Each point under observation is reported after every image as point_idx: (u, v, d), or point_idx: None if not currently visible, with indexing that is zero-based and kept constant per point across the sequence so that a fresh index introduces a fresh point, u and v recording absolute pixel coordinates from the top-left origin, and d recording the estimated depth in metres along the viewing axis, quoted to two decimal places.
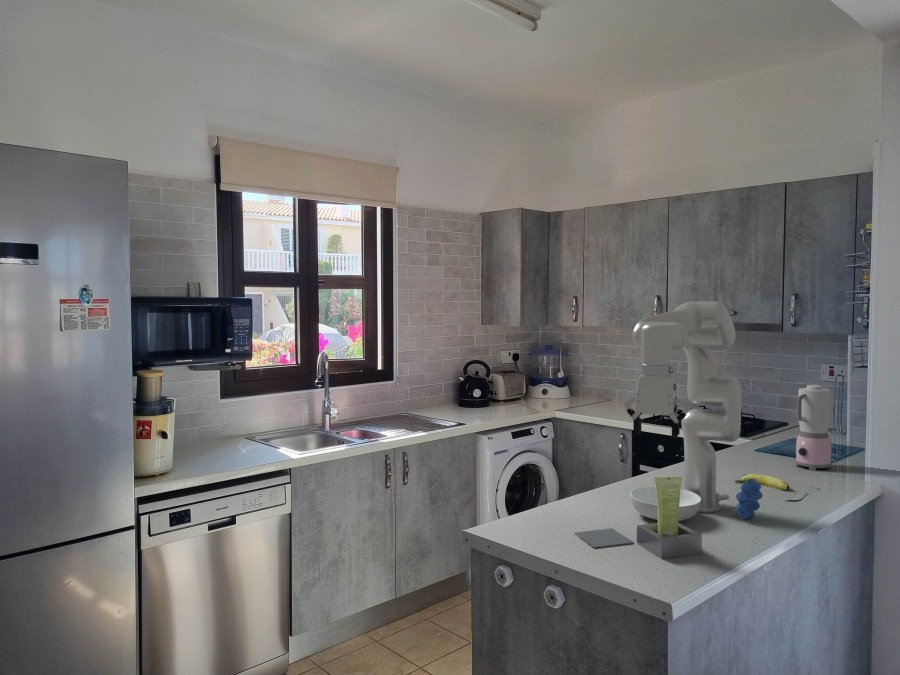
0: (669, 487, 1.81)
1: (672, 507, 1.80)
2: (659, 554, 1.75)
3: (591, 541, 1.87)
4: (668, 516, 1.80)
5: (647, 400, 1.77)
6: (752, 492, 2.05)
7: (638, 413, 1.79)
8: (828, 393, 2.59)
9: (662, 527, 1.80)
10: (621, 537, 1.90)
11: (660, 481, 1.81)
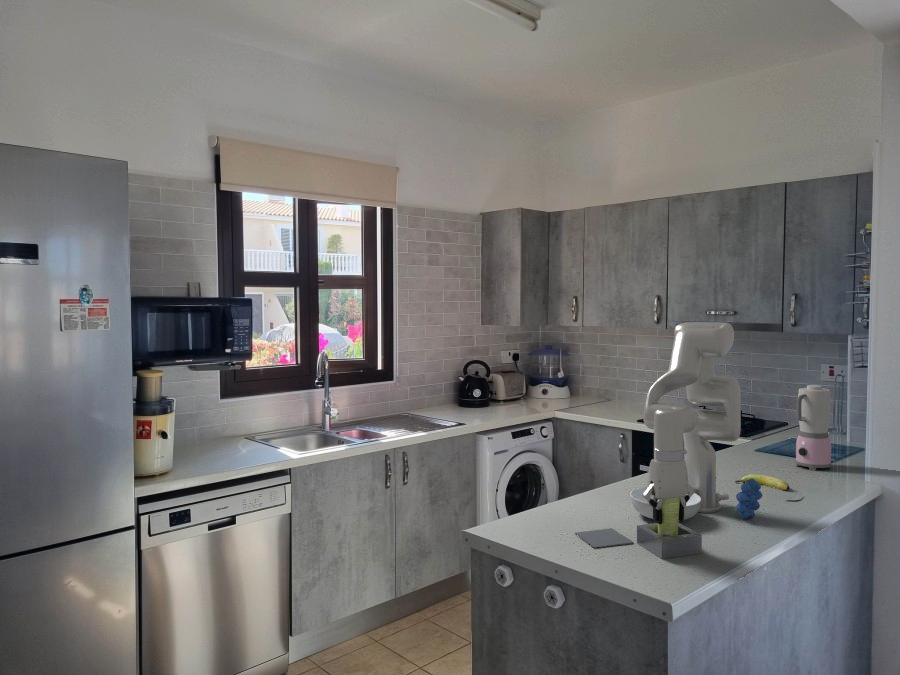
0: None
1: (672, 507, 1.80)
2: (659, 554, 1.75)
3: (591, 541, 1.87)
4: (668, 516, 1.80)
5: (668, 485, 1.78)
6: (752, 492, 2.05)
7: (661, 501, 1.79)
8: (828, 393, 2.59)
9: (662, 527, 1.80)
10: (621, 537, 1.90)
11: None
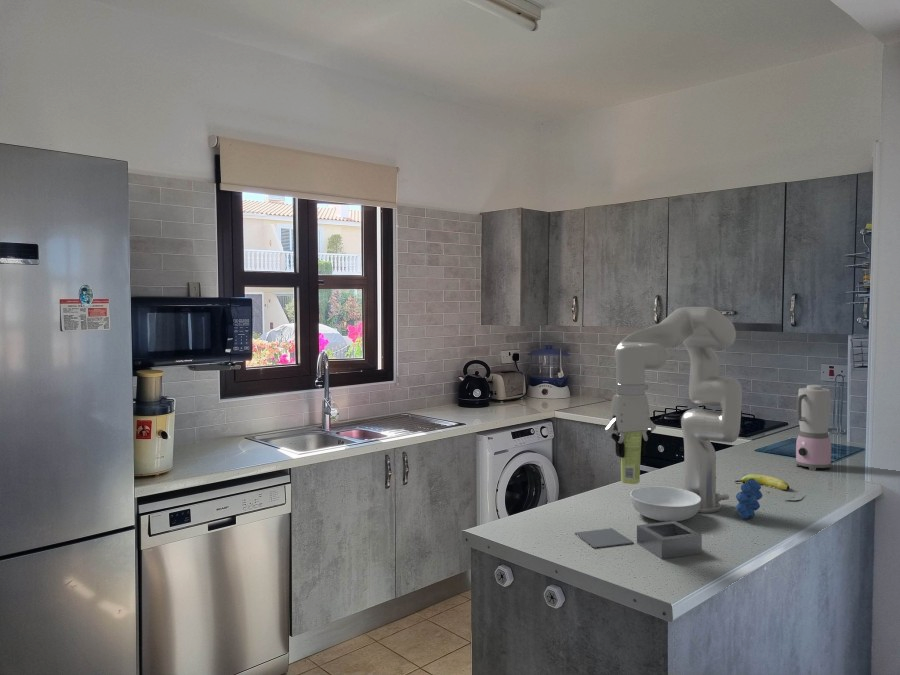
0: None
1: (634, 441, 1.83)
2: (659, 554, 1.75)
3: (591, 541, 1.87)
4: (630, 449, 1.83)
5: (630, 419, 1.82)
6: (752, 492, 2.05)
7: (623, 435, 1.83)
8: (828, 393, 2.59)
9: (625, 461, 1.84)
10: (621, 537, 1.90)
11: None
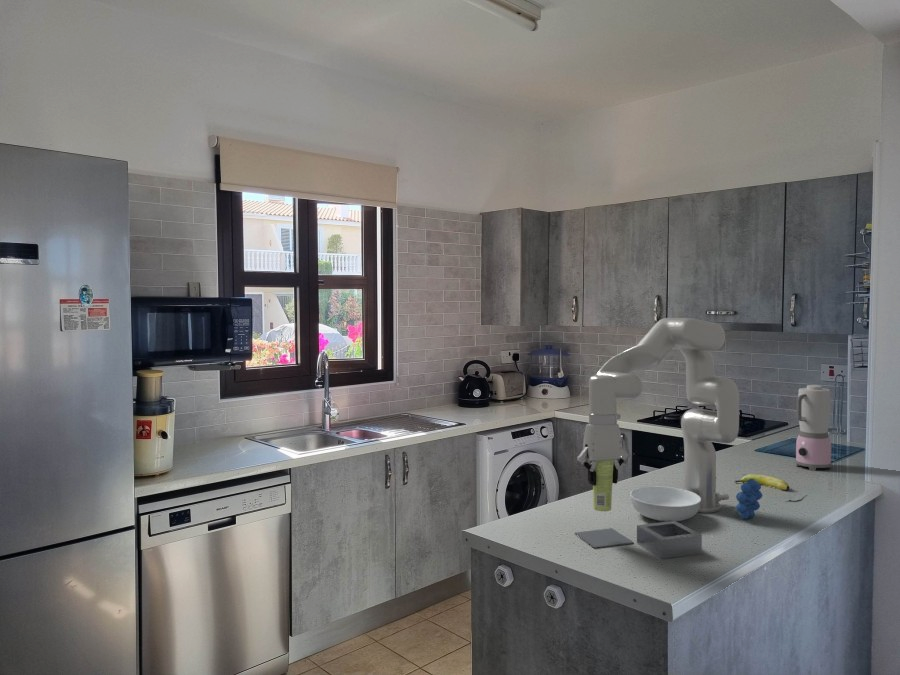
0: None
1: (606, 469, 1.87)
2: (659, 554, 1.75)
3: (591, 541, 1.87)
4: (601, 478, 1.87)
5: (601, 448, 1.86)
6: (752, 492, 2.05)
7: (595, 463, 1.87)
8: (828, 393, 2.59)
9: (596, 489, 1.88)
10: (621, 537, 1.90)
11: None
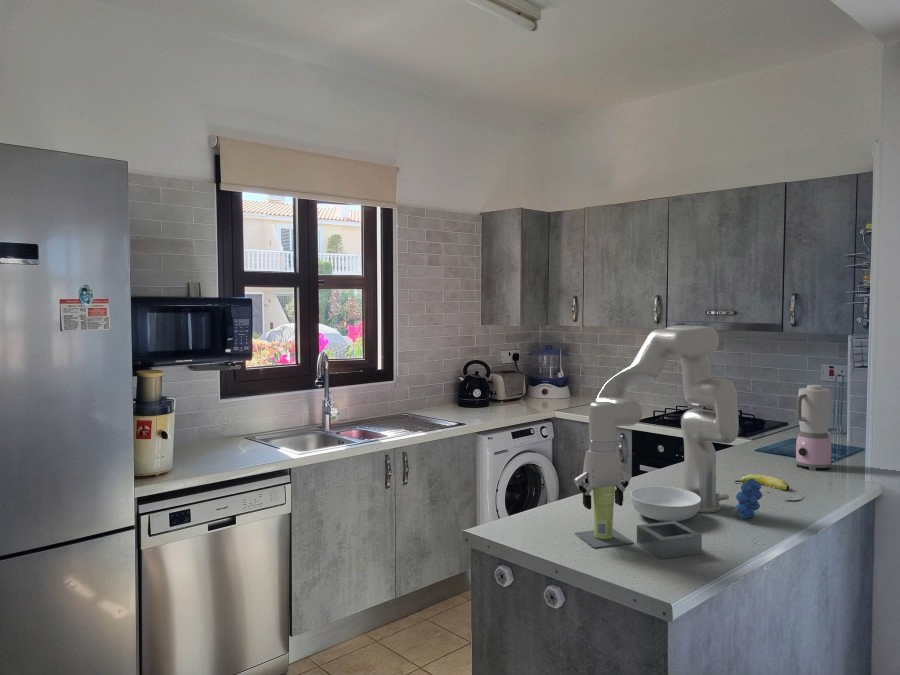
0: None
1: (606, 497, 1.88)
2: (659, 554, 1.75)
3: (591, 541, 1.87)
4: (602, 506, 1.88)
5: (602, 475, 1.86)
6: (752, 492, 2.05)
7: (591, 488, 1.87)
8: (828, 393, 2.59)
9: (597, 517, 1.88)
10: (621, 537, 1.90)
11: None
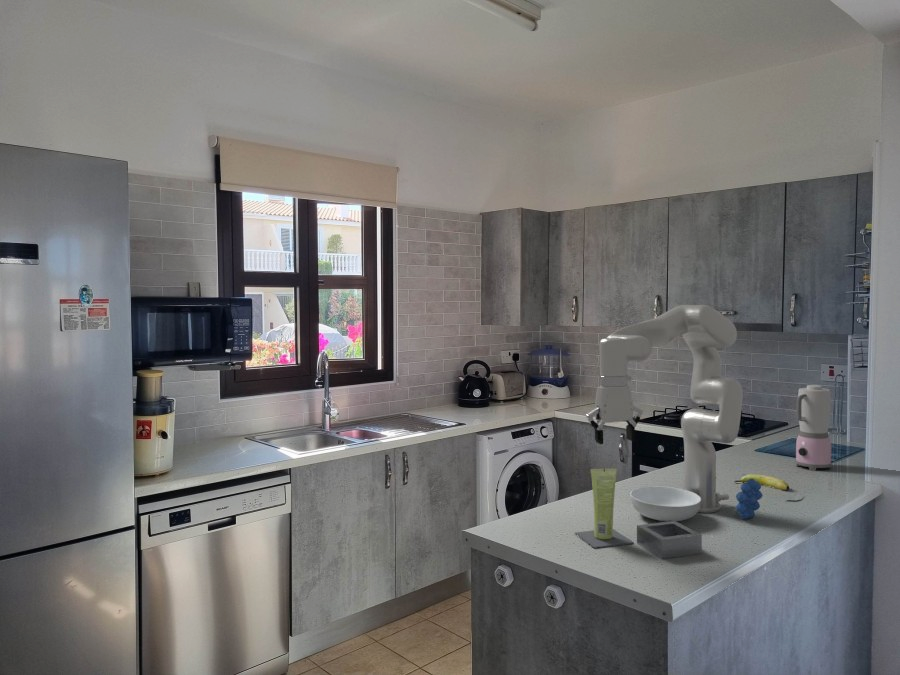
0: (604, 478, 1.89)
1: (606, 497, 1.88)
2: (659, 554, 1.75)
3: (591, 541, 1.87)
4: (602, 506, 1.88)
5: (613, 410, 1.88)
6: (752, 492, 2.05)
7: (603, 423, 1.88)
8: (828, 393, 2.59)
9: (597, 517, 1.88)
10: (621, 537, 1.90)
11: (596, 473, 1.89)
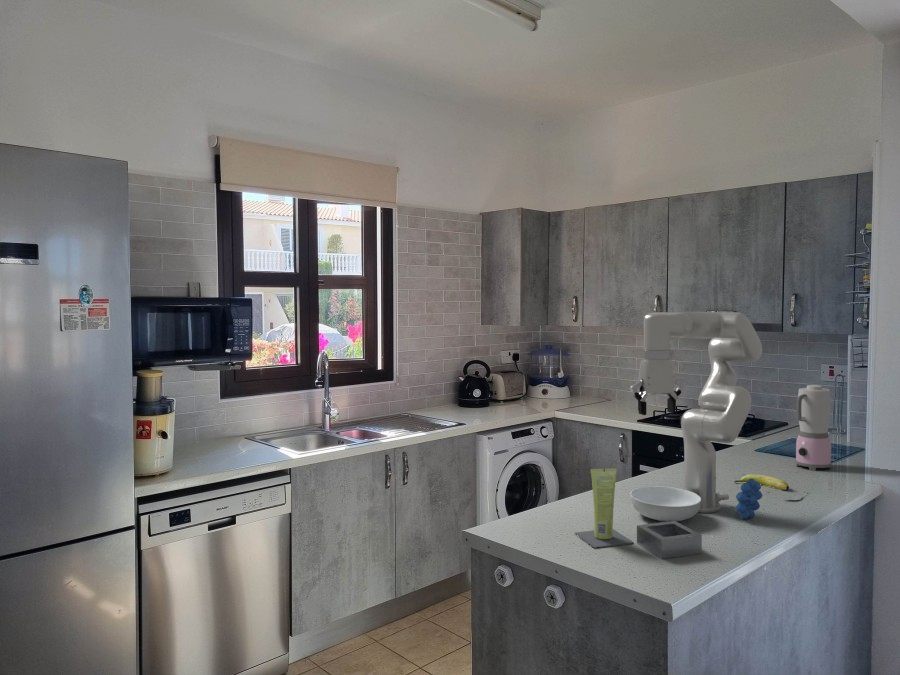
0: (604, 478, 1.89)
1: (606, 497, 1.88)
2: (659, 554, 1.75)
3: (591, 541, 1.87)
4: (602, 506, 1.88)
5: (656, 382, 1.97)
6: (752, 492, 2.05)
7: (646, 395, 1.97)
8: (828, 393, 2.59)
9: (597, 517, 1.88)
10: (621, 537, 1.90)
11: (596, 473, 1.89)
